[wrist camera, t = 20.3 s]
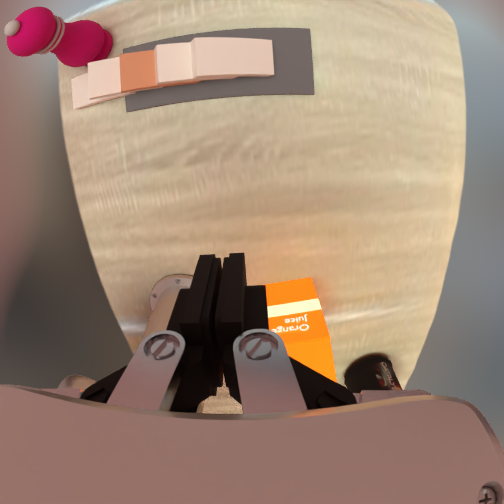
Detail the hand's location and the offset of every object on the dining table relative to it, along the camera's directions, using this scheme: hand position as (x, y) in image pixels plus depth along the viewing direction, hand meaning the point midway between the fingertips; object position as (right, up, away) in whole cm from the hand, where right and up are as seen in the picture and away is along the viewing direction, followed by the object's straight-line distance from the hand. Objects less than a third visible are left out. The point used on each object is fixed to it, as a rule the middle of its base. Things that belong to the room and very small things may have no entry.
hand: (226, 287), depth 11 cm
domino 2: (-11, +25, +20) cm, 34 cm away
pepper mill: (-22, +32, +19) cm, 43 cm away
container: (+27, -25, +48) cm, 61 cm away
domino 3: (-6, +26, +20) cm, 33 cm away
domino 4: (-1, +26, +20) cm, 33 cm away
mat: (-4, +26, +21) cm, 34 cm away
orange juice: (+7, -7, +39) cm, 40 cm away
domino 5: (+3, +26, +20) cm, 33 cm away
